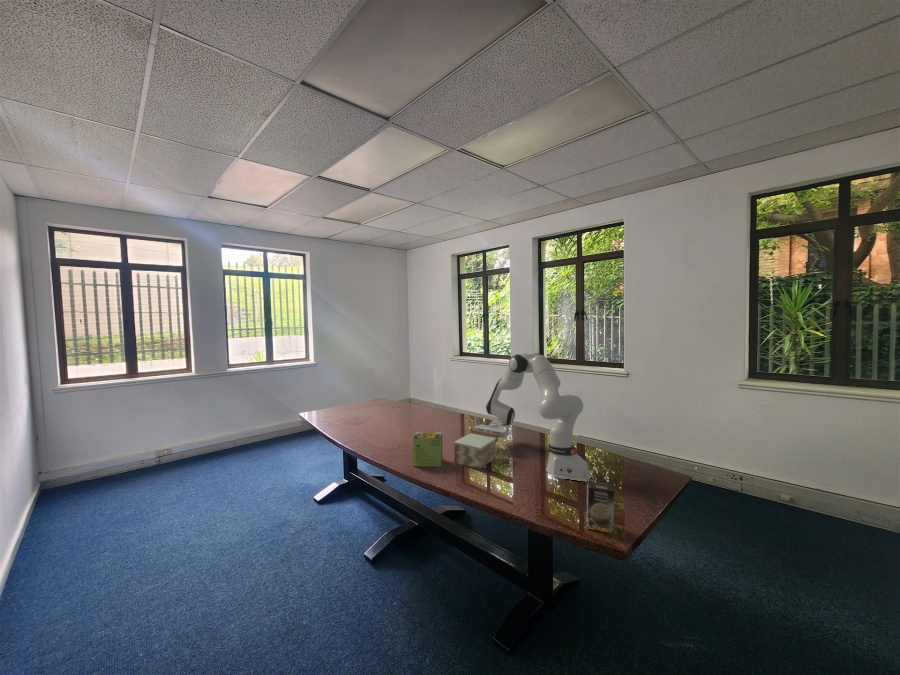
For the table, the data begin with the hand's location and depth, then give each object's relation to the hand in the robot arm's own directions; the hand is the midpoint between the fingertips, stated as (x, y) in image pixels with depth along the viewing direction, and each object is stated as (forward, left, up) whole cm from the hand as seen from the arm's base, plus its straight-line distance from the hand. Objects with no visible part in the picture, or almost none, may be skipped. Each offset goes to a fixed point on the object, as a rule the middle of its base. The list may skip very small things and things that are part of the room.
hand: (485, 434), depth 208 cm
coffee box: (-71, +42, -12) cm, 83 cm away
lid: (0, +10, -2) cm, 11 cm away
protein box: (+20, +28, -12) cm, 37 cm away
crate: (0, +11, -11) cm, 16 cm away
